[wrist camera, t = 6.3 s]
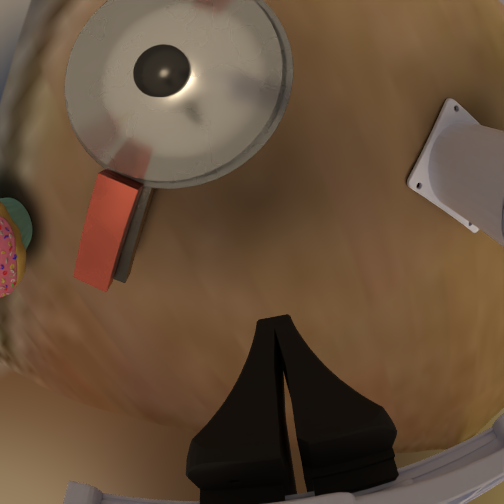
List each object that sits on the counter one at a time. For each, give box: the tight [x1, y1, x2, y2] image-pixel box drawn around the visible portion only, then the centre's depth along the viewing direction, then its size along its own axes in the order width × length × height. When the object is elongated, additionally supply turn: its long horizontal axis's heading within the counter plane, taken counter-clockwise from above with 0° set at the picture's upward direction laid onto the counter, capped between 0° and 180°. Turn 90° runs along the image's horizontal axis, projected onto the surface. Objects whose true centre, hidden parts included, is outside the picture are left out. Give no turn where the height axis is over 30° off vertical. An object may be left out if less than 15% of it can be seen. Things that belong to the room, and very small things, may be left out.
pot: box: [65, 0, 293, 283], centre depth 16 cm, size 13×23×4 cm, turn 156°
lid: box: [65, 0, 282, 292], centre depth 13 cm, size 23×11×2 cm, turn 153°
